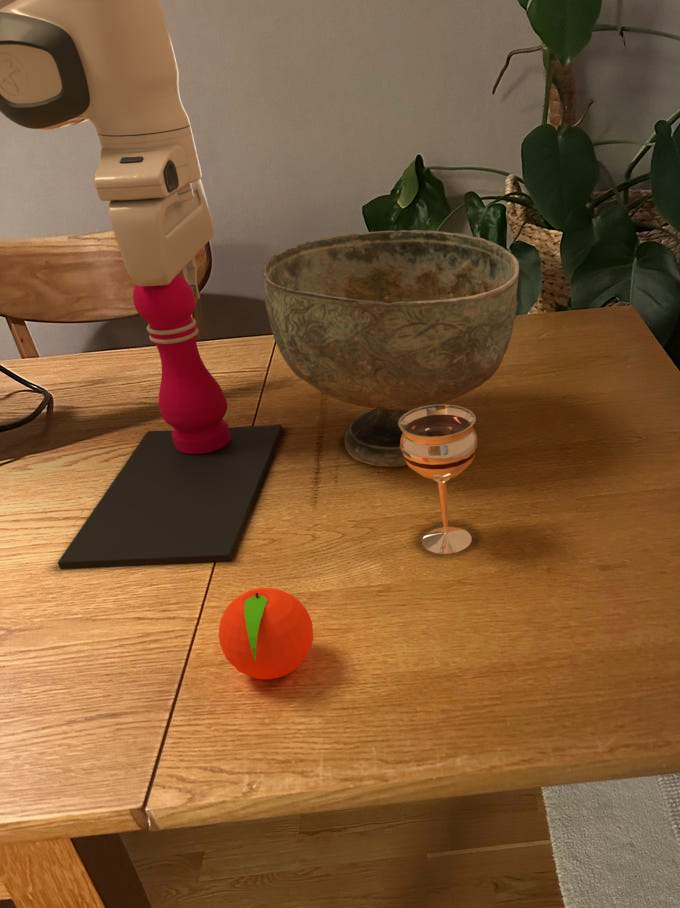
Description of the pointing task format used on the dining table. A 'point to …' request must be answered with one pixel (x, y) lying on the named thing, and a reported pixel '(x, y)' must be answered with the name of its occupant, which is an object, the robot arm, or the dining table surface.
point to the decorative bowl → (392, 323)
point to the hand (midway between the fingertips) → (189, 304)
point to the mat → (176, 503)
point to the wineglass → (440, 460)
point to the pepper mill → (183, 369)
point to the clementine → (266, 633)
